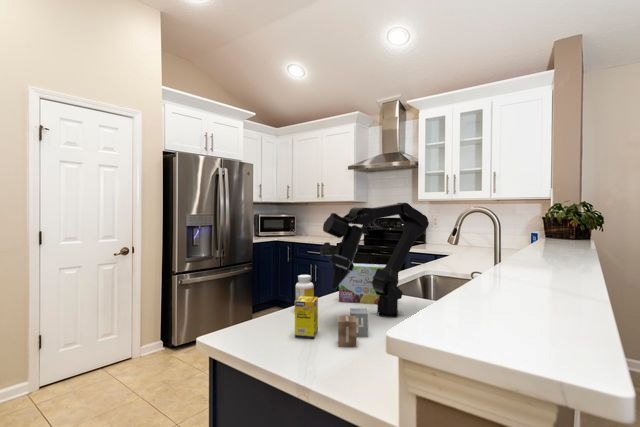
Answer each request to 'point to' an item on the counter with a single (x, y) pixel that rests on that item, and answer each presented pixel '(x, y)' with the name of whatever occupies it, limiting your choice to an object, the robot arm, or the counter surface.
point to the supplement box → (306, 317)
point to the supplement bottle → (304, 286)
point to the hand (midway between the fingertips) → (334, 288)
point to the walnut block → (346, 331)
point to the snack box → (359, 284)
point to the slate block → (360, 321)
